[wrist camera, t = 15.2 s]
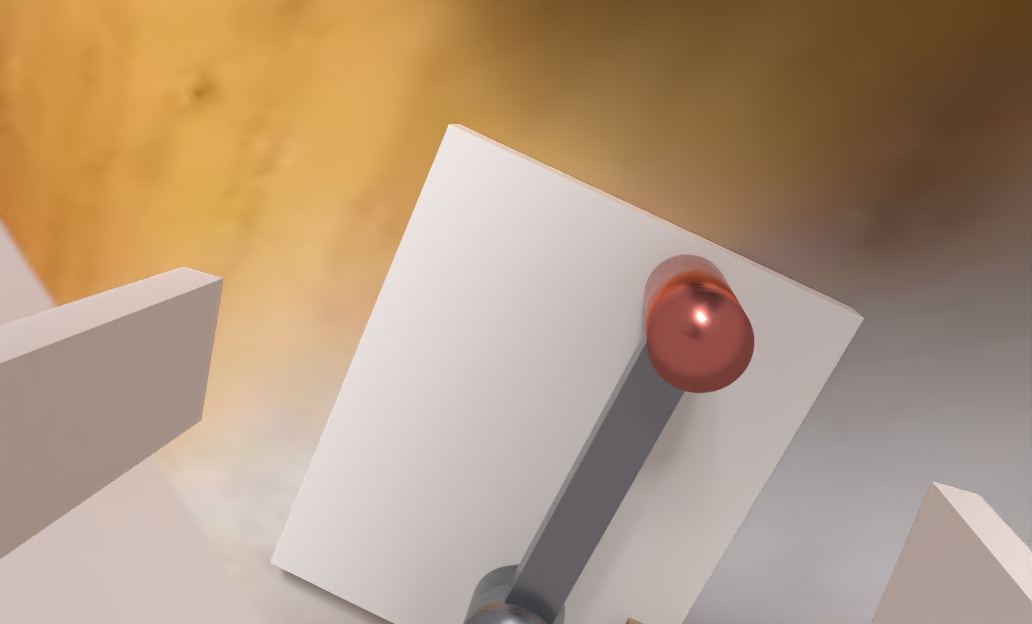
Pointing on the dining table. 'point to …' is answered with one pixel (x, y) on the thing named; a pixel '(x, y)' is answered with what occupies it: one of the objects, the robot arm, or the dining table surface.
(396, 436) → the base
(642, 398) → the lever
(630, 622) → the walnut block
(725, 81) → the dining table surface
